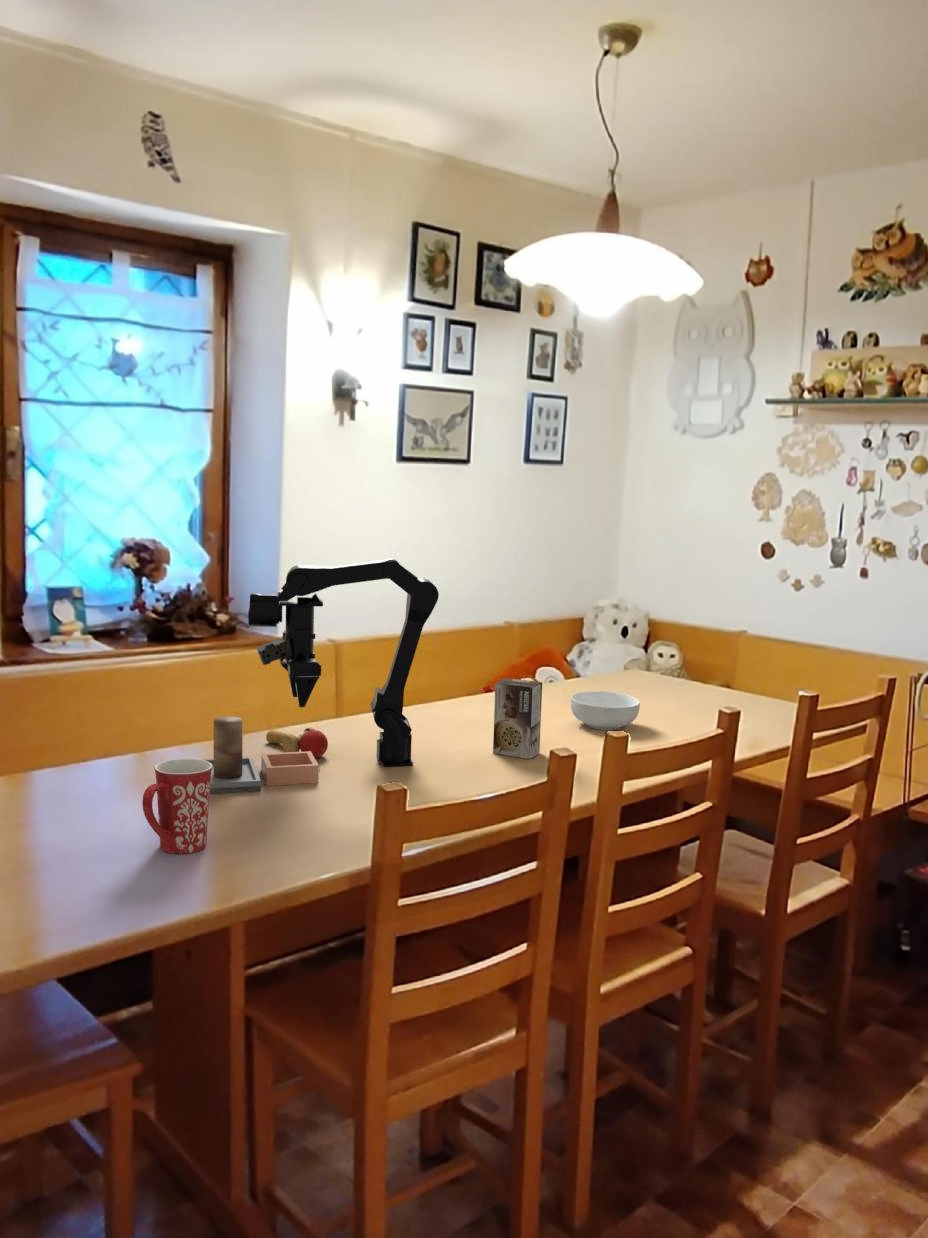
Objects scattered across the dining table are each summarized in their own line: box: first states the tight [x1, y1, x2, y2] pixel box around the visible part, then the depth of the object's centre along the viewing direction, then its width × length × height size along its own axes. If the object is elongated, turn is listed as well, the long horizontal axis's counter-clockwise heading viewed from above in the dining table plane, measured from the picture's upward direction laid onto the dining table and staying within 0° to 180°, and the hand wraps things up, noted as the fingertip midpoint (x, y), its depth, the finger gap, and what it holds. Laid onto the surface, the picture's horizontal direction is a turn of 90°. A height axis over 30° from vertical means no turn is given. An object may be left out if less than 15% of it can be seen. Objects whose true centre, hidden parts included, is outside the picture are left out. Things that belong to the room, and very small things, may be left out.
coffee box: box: [492, 677, 543, 760], centre depth 227 cm, size 9×6×16 cm
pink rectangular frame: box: [260, 751, 320, 786], centre depth 206 cm, size 10×10×4 cm
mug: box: [142, 757, 213, 855], centre depth 165 cm, size 13×9×14 cm
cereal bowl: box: [570, 690, 641, 731], centre depth 255 cm, size 17×17×7 cm
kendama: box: [265, 727, 329, 759], centre depth 224 cm, size 8×6×18 cm
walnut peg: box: [213, 716, 244, 779], centre depth 201 cm, size 6×6×11 cm
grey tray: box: [200, 756, 262, 795], centre depth 202 cm, size 11×16×2 cm
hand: (298, 702), depth 213 cm, fingers open, 9 cm apart
